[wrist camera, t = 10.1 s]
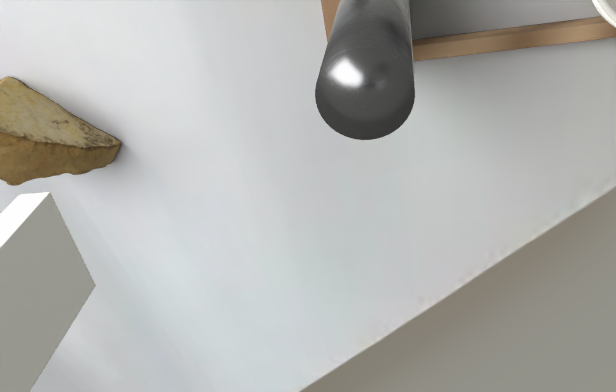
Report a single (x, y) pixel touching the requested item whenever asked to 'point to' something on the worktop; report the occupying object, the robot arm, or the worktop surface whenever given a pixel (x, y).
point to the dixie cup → (606, 10)
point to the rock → (46, 137)
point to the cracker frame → (497, 36)
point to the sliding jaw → (367, 69)
